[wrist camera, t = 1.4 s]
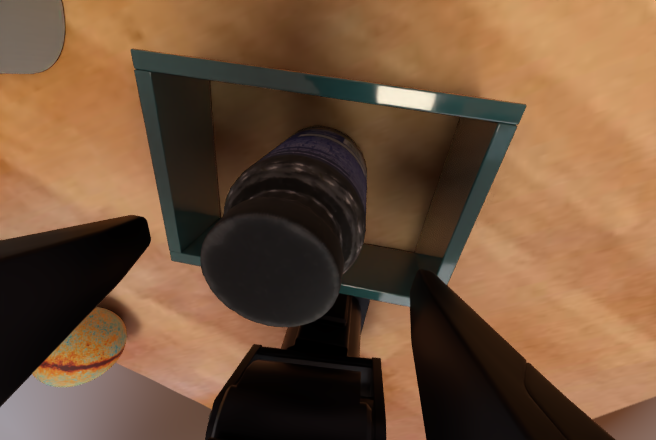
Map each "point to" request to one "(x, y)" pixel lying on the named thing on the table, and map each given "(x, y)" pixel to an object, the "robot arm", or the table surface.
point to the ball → (85, 351)
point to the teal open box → (196, 111)
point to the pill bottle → (290, 230)
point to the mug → (30, 35)
